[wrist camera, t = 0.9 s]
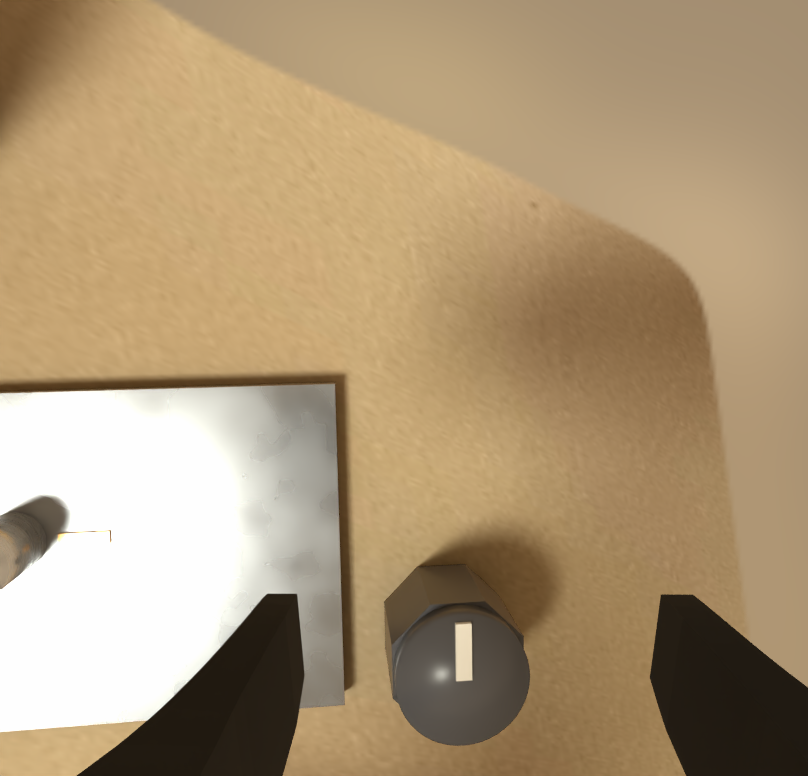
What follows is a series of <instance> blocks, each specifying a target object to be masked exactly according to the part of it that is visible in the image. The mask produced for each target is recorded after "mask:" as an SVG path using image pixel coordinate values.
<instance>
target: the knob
mask: <svg viewBox="0 0 808 776" xmlns="http://www.w3.org/2000/svg"><path fill="white" fill-rule="evenodd" d="M384 608H385V649H386V655H387V662H388V669H389V676H390V682H391V689H392V696H393V699H394V700H395V701H396V702H397V703H399V705H400V708H401V710H402V712H403V714H404V716H405V718H406V719H407V720H408V722H409V723H410V724H411V725H412V726H413V727H414V728H415V729H416V730H417V731H418V732H419V733H421V734H422V735H423V736H425V737H427V738H429V739H431V740H433V741H436V742H438V743H442V744H446V745H455V746H460V745H470V744H475V743H479V742H482V741H485V740H487V739H489V738H491V737H493V736H495V735H497V734H498V733H499V732H501V731H502V730H504V729H505V728H506V727H507V726H508V725H509V724H510V723H511V722H512V721H513V720H514V718H515V717H516V716H517V715H518V713H519V711H520V710H521V708H522V706H523V704H524V702H525V699H526V696H527V693H528V689H529V682H530V671H529V664H528V659H527V657H526V654H525V651H524V640H523V635H522V633H521V631H520V630H519V628H518V626H517V625H516V623H515V621H514V620H513V618H512V616H511V615H510V613H509V612H508V610H507V608H506V607H505V605H504V603H503V602H502V600H501V598H500V597H499V595H498V594H497V593H496V592H495V591H494V590H493V589H491V588H490V587H489V586H488V585H487V584H486V583H485V582H484V581H483V580H482V579H481V578H479V577H478V576H477V575H476V574H475V573H474V572H473V571H472V570H471V569H470V568H469V567H467V566H466V565H465V564H459V565H442V566H425V567H417V568H416V569H415V570H414V571H413V572H412V573H411V574H410V575H409V576H408V577H407V579H406V580H405V581H404V582H403V583H402V584H401V585H400V586H399V587H398V588H397V589H396V590H395V591H394V592H393V593H392V594H391V595H390V596H389V598H388V599H387V600H386V601H385V602H384Z"/></svg>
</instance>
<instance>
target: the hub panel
mask: <svg viewBox="0 0 808 776" xmlns="http://www.w3.org/2000/svg"><path fill="white" fill-rule="evenodd" d="M266 594H297V597H298V608H299V619H300V629H301V640H302V651H303V662H304V673H305V676H304V683H303V689H302V695H301V702H300V708H311V707H324V706H337V705H345V701H344V664H343V631H342V597H341V564H340V531H339V498H338V465H337V431H336V398H335V382H320V383H284V384H249V385H213V386H178V387H142V388H107V389H71V390H36V391H0V732H5V731H18V730H31V729H44V728H56V727H69V726H82V725H95V724H107V723H120V722H133V721H146V720H148V719H150V718H151V717H152V716H153V715H154V714H155V713H156V712H157V711H158V710H159V709H161V708H162V707H163V706H164V705H165V704H166V703H167V702H168V701H169V700H170V699H171V698H172V697H173V696H174V695H175V694H176V693H177V692H178V691H179V690H180V689H181V688H182V687H183V686H184V685H185V684H186V683H187V682H188V681H189V680H190V679H191V678H192V677H193V676H194V675H195V674H196V673H197V672H198V671H199V670H200V669H201V668H202V667H203V666H204V665H205V664H206V663H207V661H208V660H209V659H210V658H211V657H212V656H213V655H214V654H215V653H216V652H217V650H218V649H219V648H220V647H221V646H222V645H223V644H224V643H225V642H226V641H227V639H228V638H229V637H230V636H231V635H232V634H233V632H234V631H235V630H236V629H237V628H238V627H239V625H240V624H241V623H242V622H243V621H244V620H245V618H246V617H247V616H248V615H249V614H250V612H251V611H252V610H253V609H254V608H255V606H256V605H257V604H258V603H259V602H260V600H261V599H262V598H263V597H264V596H265V595H266Z"/></svg>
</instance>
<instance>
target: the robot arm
mask: <svg viewBox="0 0 808 776" xmlns="http://www.w3.org/2000/svg"><path fill="white" fill-rule="evenodd" d="M304 676H305V673H304V662H303V651H302V640H301V629H300V619H299V608H298V597H297V594H266V595H265V596H264V597H263V598H262V599H261V600H260V602H259V603H258V604H257V605H256V606H255V608H254V609H253V610H252V611H251V612H250V614H249V615H248V616H247V617H246V618H245V620H244V621H243V622H242V623H241V624H240V625H239V627H238V628H237V629H236V630H235V631H234V632H233V634H232V635H231V636H230V637H229V638H228V639H227V641H226V642H225V643H224V644H223V645H222V646H221V647H220V648H219V649H218V650H217V652H216V653H215V654H214V655H213V656H212V657H211V658H210V659H209V660H208V661H207V663H206V664H205V665H204V666H203V667H202V668H201V669H200V670H199V671H198V672H197V673H196V674H195V675H194V676H193V677H192V678H191V679H190V680H189V681H188V682H187V683H186V684H185V685H184V686H183V687H182V688H181V689H180V690H179V691H178V692H177V693H176V694H175V695H174V696H173V697H172V698H171V699H170V700H169V701H168V702H167V703H166V704H165V705H164V706H163V707H162V708H161V709H159V710H158V711H157V712H156V713H155V714H154V715H153V716H152V717H151V718H150V719H148V720H147V721H146V722H145V723H144V724H143V725H142V726H140V727H139V728H138V729H137V730H136V731H135V732H133V733H132V734H131V735H130V736H129V737H127V738H126V739H125V740H124V741H122V742H121V743H120V744H119V745H117V746H116V747H115V748H113V749H112V750H111V751H109V752H108V753H107V754H105V755H104V756H103V757H101V758H100V759H99V760H97V761H96V762H95V763H93V764H92V765H91V766H89V767H88V768H87V769H85V770H84V771H82V772H81V773H80V774H78V775H77V776H282V775H283V772H284V768H285V765H286V761H287V758H288V754H289V751H290V747H291V743H292V740H293V736H294V733H295V729H296V725H297V719H298V713H299V708H300V702H301V695H302V689H303V683H304ZM650 679H651V683H652V686H653V690H654V693H655V696H656V700H657V703H658V706H659V709H660V712H661V716H662V719H663V722H664V725H665V728H666V731H667V733H668V735H669V738H670V740H671V742H672V745H673V747H674V749H675V751H676V754H677V756H678V758H679V760H680V763H681V765H682V767H683V769H684V772H685V774H686V776H808V688H807V687H806V686H805V685H804V684H802V683H801V682H800V681H798V680H797V679H796V678H795V677H793V676H792V675H791V674H789V673H788V672H787V671H785V670H784V669H783V668H782V667H780V666H779V665H778V664H777V663H775V662H774V661H773V660H772V659H770V658H769V657H768V656H767V655H765V654H764V653H763V652H762V651H760V650H759V649H758V648H757V647H756V646H754V645H753V644H752V643H751V642H749V641H748V640H747V639H746V638H745V637H743V636H742V635H741V634H740V633H739V632H737V631H736V630H735V629H734V628H733V627H731V626H730V625H729V624H728V623H727V622H725V621H724V620H723V619H722V618H721V617H720V616H718V615H717V614H716V613H715V612H714V611H712V610H711V609H710V608H709V607H708V606H706V605H705V604H704V603H703V602H701V601H700V600H699V599H698V598H696V597H695V596H694V595H661V599H660V606H659V614H658V621H657V629H656V636H655V644H654V651H653V659H652V666H651V674H650Z"/></svg>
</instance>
